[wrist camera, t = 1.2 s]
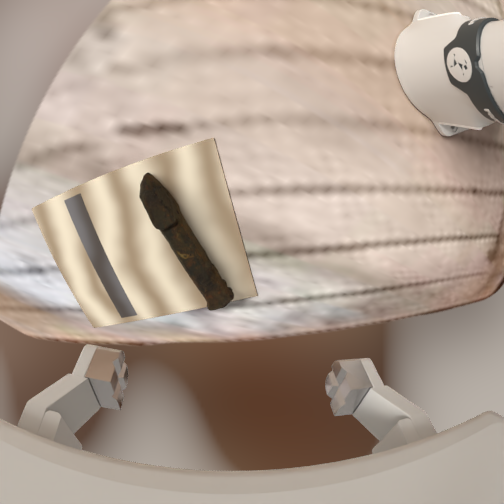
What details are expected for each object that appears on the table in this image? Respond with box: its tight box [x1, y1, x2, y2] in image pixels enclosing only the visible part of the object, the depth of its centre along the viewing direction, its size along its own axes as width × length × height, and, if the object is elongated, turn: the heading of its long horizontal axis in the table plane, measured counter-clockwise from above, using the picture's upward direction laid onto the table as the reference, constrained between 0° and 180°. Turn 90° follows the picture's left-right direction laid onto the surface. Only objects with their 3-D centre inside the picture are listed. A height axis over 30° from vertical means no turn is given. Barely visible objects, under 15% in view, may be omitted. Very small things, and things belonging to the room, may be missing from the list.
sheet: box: [32, 138, 258, 328], centre depth 37 cm, size 28×22×1 cm
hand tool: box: [139, 173, 234, 310], centre depth 34 cm, size 19×4×5 cm, turn 22°
